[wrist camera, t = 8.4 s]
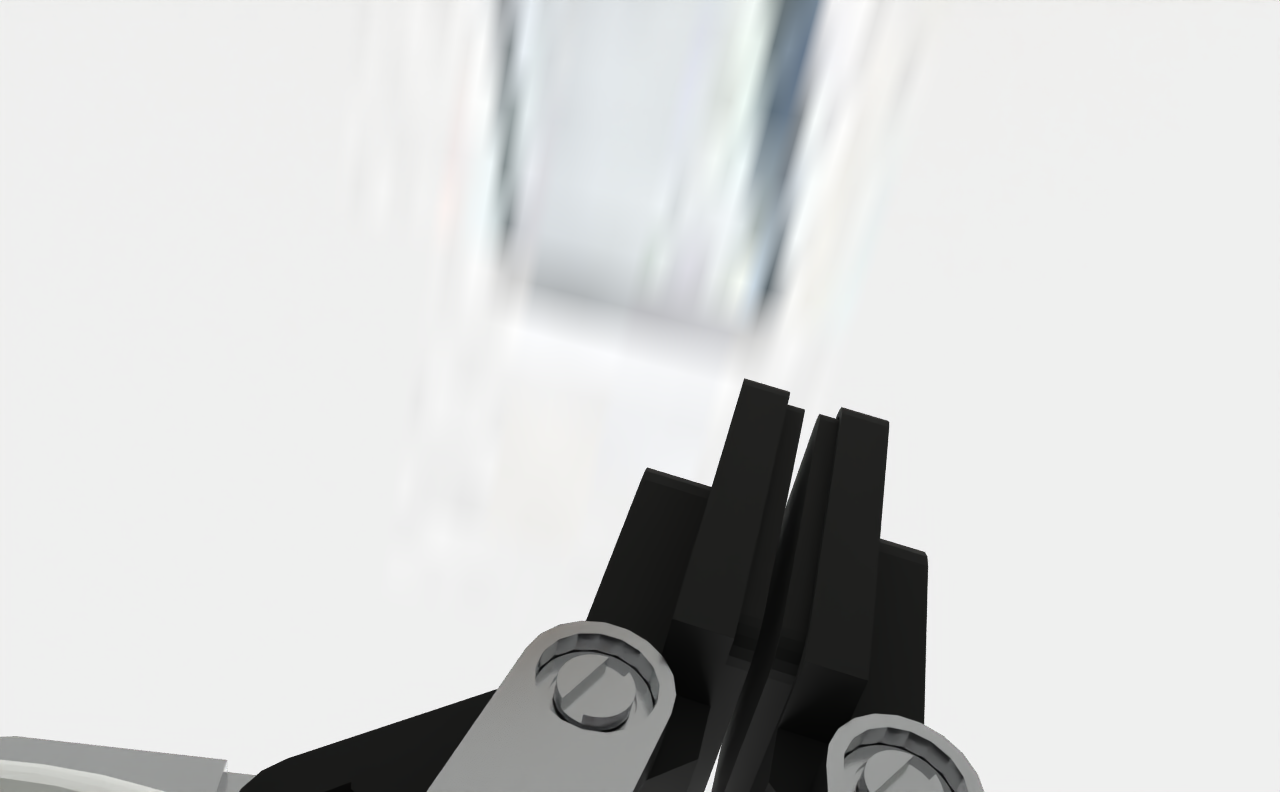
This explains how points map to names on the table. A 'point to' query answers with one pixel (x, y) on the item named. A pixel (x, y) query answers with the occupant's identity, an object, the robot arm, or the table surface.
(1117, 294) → the table surface
